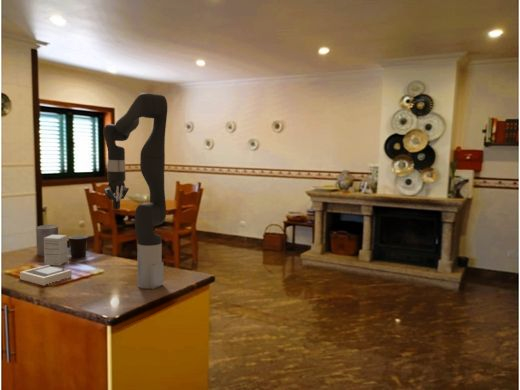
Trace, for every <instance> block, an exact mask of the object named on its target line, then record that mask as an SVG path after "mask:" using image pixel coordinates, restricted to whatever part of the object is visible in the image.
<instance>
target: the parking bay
mask: <svg viewBox="0 0 520 390" xmlns="http://www.w3.org/2000/svg"><path fill="white" fill-rule="evenodd" d="M47 267H51V265H45V264H44V265H42V266H38V267H34V268H30V269H26V270H22V271H20V272H19V278H20V280H22V281H25V282H29V283H33V284H36V285H40V286H47V285H46V284H48V285H50V284H49V283H51V284H53V283H52V282H54V283H56V282H55V281H57V282H59V281H58V280H61V279H64V278H67V277H71V276H72V270H71V269H68V270H67V269H66V270H63V272H60V273H56V274H53V275H49V276H46V277H43V276H39V275H35V270H39V269H43V268H47ZM72 277H73V276H72ZM72 277H71V278H72ZM67 279H68V278H67ZM64 280H65V279H64ZM61 281H62V280H61Z"/></svg>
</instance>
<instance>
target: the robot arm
mask: <svg viewBox="0 0 520 390" xmlns="http://www.w3.org/2000/svg"><path fill="white" fill-rule="evenodd" d="M140 118H146V119H153V124H152V125H153V126H152V130H151V133H150V135H149V136H148V138H147V140H146V141H145V142H144V145H143V147H142V148H141V150H140V154H139V155H140V159H139V161H140V162H139V163H140V165H139V166H140V167H139V168H140V172H141V175H142V177H143V179H144V181H145V182H146V184H147V186H148V187H147V188H148V190H149V202H146V203H141V204H138V205H137V207H136V208H135V212H134V224H135V225H134V226H135V227H134V228H135V237H136V239H137V287H138V288H140V289H147V290H148V289H151V290H154V289H157V288H159V287H162V286H164V261H162V249H163V247H162V244H163V243H162V242H163V241H162V240H163V239H162V236H161V235H160V234H157V233H155V232H154V226H159V225H162V224H163V223H164V222H165V221H166V217H167V203H166V194H165V165H166V164H165V162H166V161H165V160H166V156H165V155H166V153H165V152H166V150H165V149H166V148H165V147H166V146H165V144H166V142H165V140H166V127H167V118H168V101H167V98H166V96H165V95H162V94H157V93H150V92H142V93H139V95H137V97H135V99H134V101H133V102H132V104H131V105H130V107H129V108H128V110H127V112H126V113H125V114H124V115H123V116H121V117H120V118H119V119H118V120H117V121H116V122H115V123H114V124H112V123H108V124H106V125H105V126H104V127H103V131H102V132H103V138H104V140H105V141H104V142H105V143H106V144H105V145H106V147H107V148H106V149H107V165H106V166H107V168H106V170H107V173H106V174H107V181H108V183H107V187H106V188H104V189H103V192H104V194H105V195H106V197H107V198H108V199H109V201H112V207H113V210H120V209H121V200H124V199H125V197H126V195H127V193H128V191H129V190H130V188H129V187H128V186H126V184H125V181H126V158H125V157H126V151H125V150H126V149H125V148H124V147H123V146H119V145H117V144H116V143H115V142H124V141H127V140H128V139H129V137H130V135H131V133H132V132H134V131H135V130H136V129H137V128H138V127H139V125H140V124H139V123H140ZM161 285H162V286H161Z"/></svg>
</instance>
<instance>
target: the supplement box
mask: <svg viewBox="0 0 520 390" xmlns="http://www.w3.org/2000/svg"><path fill="white" fill-rule="evenodd" d="M43 257H44V266H45V265H50V266H61V265H63V264H65V263H67V262H68V235H66V234H58V235H50V236H48V237H45V238H44V256H43Z"/></svg>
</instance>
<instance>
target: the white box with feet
mask: <svg viewBox="0 0 520 390" xmlns="http://www.w3.org/2000/svg"><path fill="white" fill-rule="evenodd" d="M63 271H64V268H63V267H57V266H50V267H47V268H43V269H39V270H35V275H39V276H43V277H46V276H49V275H53V274H56V273H60V272H63Z"/></svg>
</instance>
